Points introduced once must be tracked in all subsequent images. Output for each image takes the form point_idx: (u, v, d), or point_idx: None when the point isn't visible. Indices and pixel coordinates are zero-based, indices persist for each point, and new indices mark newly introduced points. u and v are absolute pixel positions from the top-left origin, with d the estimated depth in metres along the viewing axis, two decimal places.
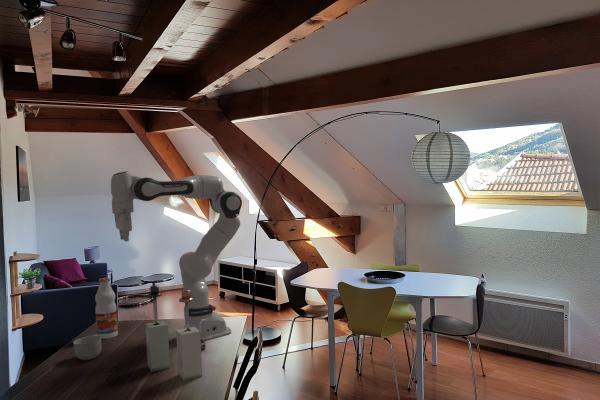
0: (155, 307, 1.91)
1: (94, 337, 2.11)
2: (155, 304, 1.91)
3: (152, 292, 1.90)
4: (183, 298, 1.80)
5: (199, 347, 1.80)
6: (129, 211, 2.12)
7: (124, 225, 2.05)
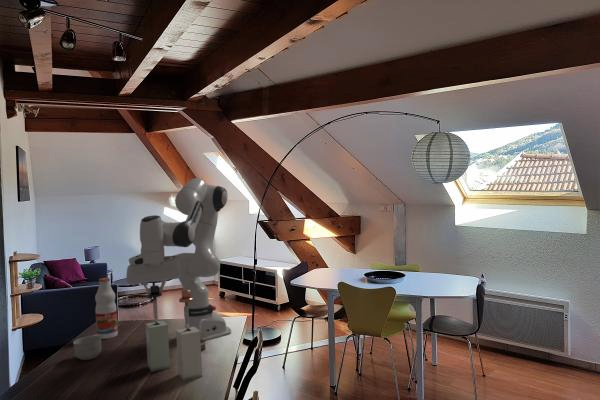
0: (155, 307, 1.91)
1: (94, 337, 2.11)
2: (155, 304, 1.91)
3: (152, 292, 1.90)
4: (183, 298, 1.80)
5: (199, 347, 1.80)
6: None
7: (179, 271, 1.95)
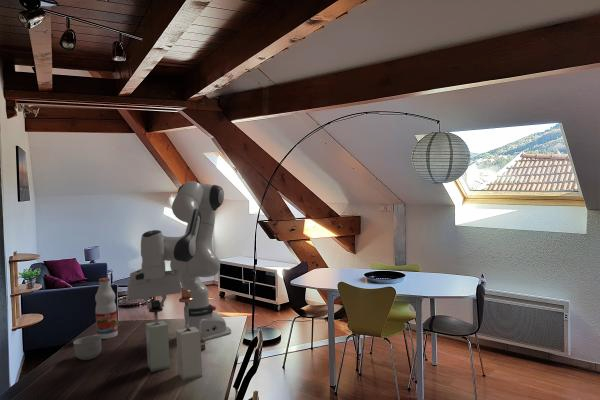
0: (156, 322, 1.91)
1: (94, 337, 2.11)
2: (156, 319, 1.91)
3: (153, 307, 1.90)
4: (183, 298, 1.80)
5: (199, 347, 1.80)
6: None
7: (180, 286, 1.95)
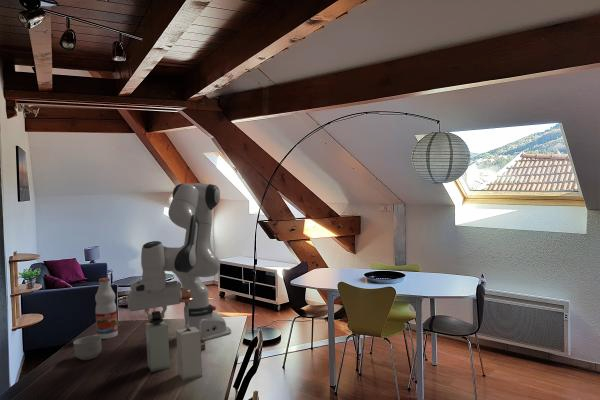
0: None
1: (94, 337, 2.11)
2: None
3: (153, 318, 1.90)
4: (183, 298, 1.80)
5: (199, 347, 1.80)
6: None
7: None
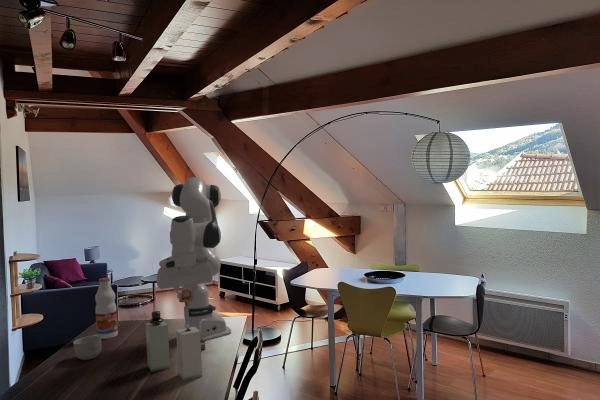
0: None
1: (94, 337, 2.12)
2: None
3: (153, 318, 1.90)
4: (183, 298, 1.80)
5: (199, 347, 1.80)
6: None
7: (212, 275, 1.85)
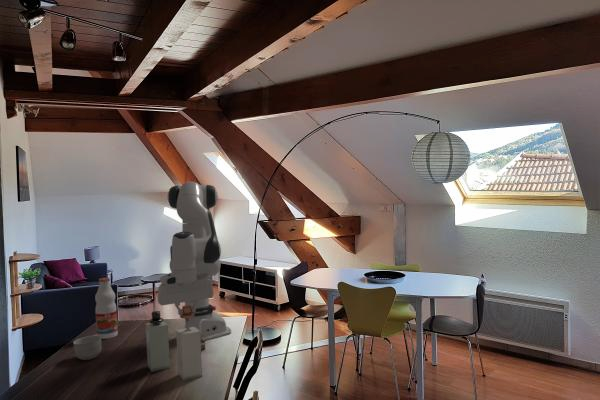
0: None
1: (94, 337, 2.12)
2: None
3: (153, 318, 1.90)
4: (184, 314, 1.80)
5: (199, 347, 1.80)
6: None
7: (212, 290, 1.85)
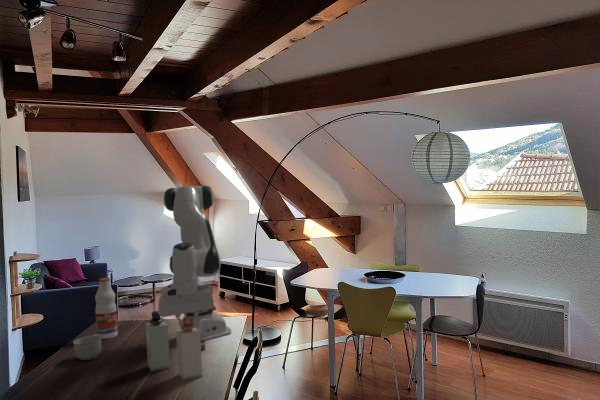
0: None
1: (94, 337, 2.11)
2: None
3: (153, 318, 1.90)
4: (184, 325, 1.80)
5: (199, 347, 1.80)
6: None
7: None
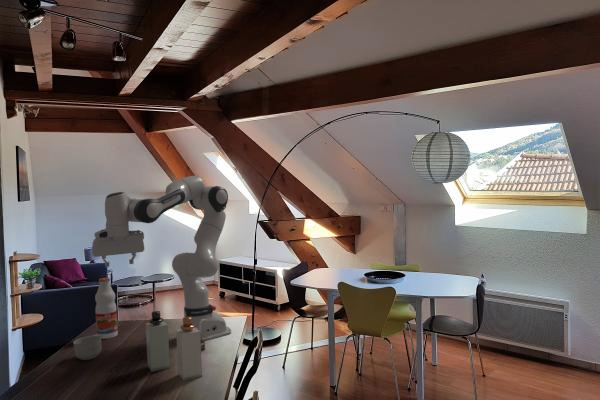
0: None
1: (94, 337, 2.12)
2: None
3: (153, 318, 1.90)
4: (184, 326, 1.80)
5: (199, 347, 1.80)
6: None
7: (143, 245, 2.06)
